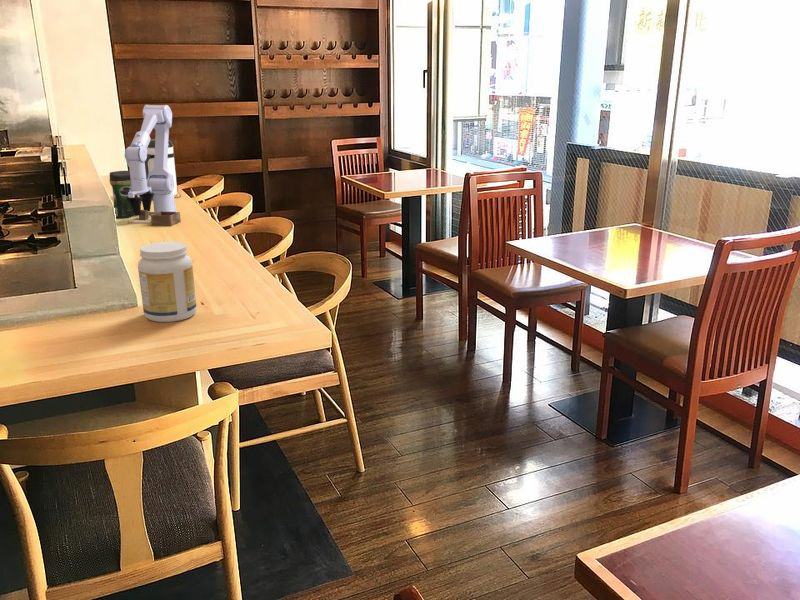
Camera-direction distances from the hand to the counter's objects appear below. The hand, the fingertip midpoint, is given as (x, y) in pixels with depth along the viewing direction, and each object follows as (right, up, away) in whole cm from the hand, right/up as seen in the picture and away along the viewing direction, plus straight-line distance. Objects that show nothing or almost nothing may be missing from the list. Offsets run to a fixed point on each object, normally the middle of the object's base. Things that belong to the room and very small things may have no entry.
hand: (142, 213), depth 265 cm
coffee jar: (-11, 0, +13) cm, 17 cm away
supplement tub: (+46, -38, -102) cm, 118 cm away
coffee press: (-11, +14, +54) cm, 57 cm away
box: (+11, -5, -3) cm, 12 cm away
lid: (0, -3, +1) cm, 3 cm away
